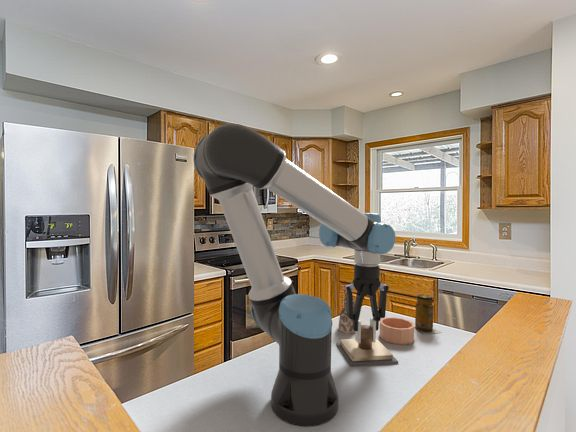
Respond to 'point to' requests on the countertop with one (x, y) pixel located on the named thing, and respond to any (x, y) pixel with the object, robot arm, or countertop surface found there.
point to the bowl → (397, 330)
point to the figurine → (346, 320)
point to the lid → (365, 347)
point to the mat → (368, 362)
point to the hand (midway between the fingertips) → (365, 340)
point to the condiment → (424, 315)
